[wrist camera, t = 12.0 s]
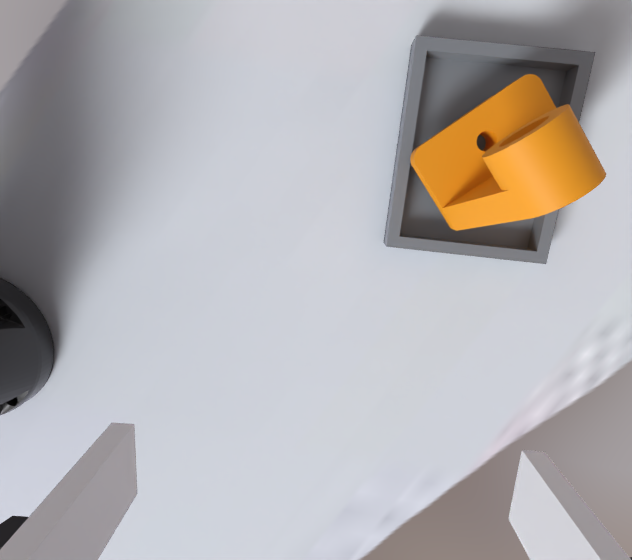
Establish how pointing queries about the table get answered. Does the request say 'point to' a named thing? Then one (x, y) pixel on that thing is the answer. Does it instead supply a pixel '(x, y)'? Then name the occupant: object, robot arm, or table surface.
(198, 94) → the table surface
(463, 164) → the bracket
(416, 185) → the tray
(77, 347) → the table surface
